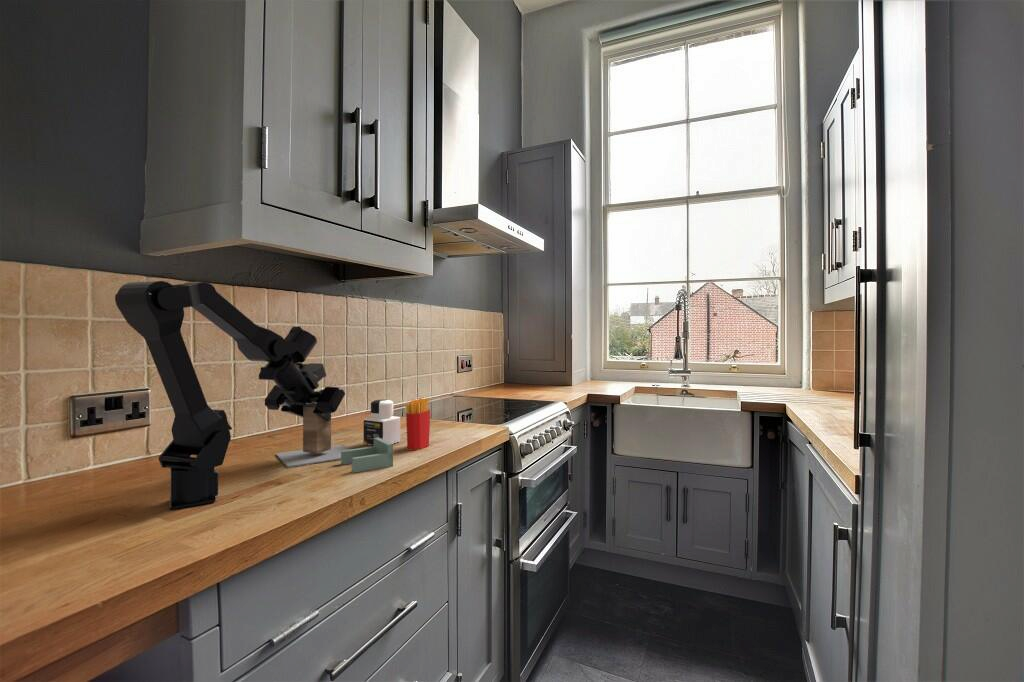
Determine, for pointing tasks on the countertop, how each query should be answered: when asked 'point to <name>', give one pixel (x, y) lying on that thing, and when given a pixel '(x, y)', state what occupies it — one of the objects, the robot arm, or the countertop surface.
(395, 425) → the medicine bottle
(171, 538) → the countertop surface
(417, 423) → the french fries
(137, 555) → the countertop surface
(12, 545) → the countertop surface
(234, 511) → the countertop surface
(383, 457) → the holder
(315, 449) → the brown rectangular block
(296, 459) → the mat
